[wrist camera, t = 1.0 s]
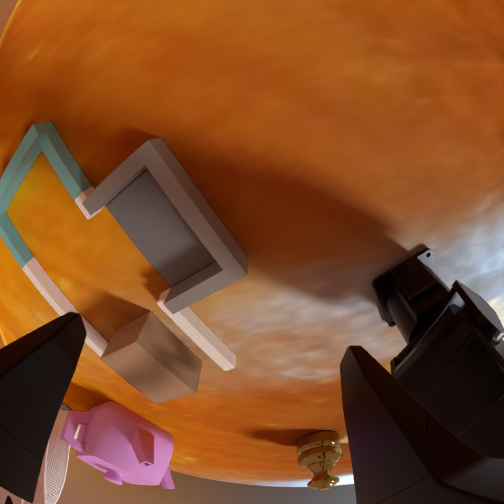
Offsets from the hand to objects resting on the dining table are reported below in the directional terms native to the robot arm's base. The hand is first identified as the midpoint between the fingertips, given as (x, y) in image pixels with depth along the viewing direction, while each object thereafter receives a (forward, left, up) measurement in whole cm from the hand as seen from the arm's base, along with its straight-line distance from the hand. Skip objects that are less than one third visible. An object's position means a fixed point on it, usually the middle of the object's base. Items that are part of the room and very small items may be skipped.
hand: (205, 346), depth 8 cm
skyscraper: (-15, +52, -14) cm, 56 cm away
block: (-8, +15, -14) cm, 22 cm away
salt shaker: (-39, +10, -14) cm, 42 cm away
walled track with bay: (+2, +12, -13) cm, 18 cm away
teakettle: (-21, +36, -14) cm, 44 cm away
